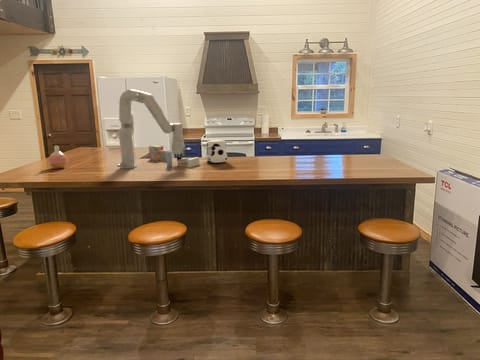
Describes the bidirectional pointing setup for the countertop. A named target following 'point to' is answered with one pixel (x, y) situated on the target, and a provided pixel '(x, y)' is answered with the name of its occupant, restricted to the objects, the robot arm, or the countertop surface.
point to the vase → (57, 159)
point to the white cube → (216, 151)
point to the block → (183, 162)
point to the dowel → (169, 159)
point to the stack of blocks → (158, 153)
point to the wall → (193, 162)
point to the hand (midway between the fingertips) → (179, 162)
